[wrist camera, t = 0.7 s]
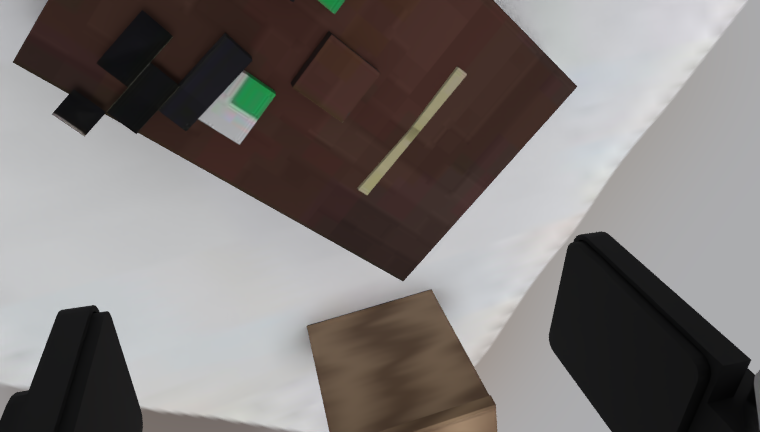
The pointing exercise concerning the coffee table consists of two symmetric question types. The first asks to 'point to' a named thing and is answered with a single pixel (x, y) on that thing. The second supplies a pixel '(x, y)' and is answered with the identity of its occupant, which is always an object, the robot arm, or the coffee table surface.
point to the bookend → (398, 371)
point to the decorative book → (314, 102)
